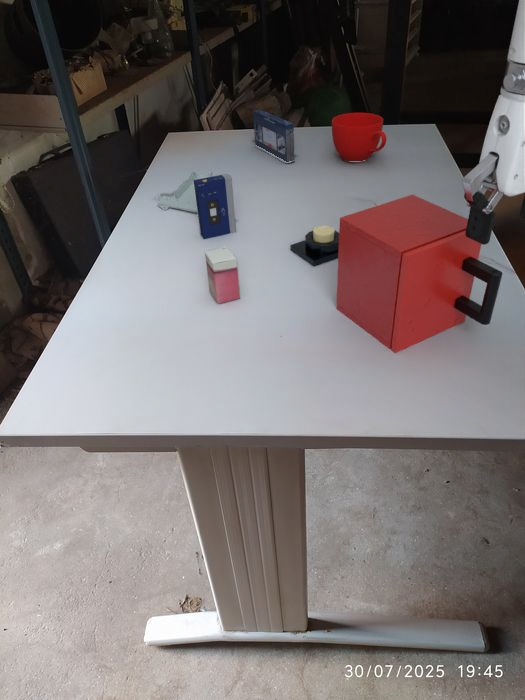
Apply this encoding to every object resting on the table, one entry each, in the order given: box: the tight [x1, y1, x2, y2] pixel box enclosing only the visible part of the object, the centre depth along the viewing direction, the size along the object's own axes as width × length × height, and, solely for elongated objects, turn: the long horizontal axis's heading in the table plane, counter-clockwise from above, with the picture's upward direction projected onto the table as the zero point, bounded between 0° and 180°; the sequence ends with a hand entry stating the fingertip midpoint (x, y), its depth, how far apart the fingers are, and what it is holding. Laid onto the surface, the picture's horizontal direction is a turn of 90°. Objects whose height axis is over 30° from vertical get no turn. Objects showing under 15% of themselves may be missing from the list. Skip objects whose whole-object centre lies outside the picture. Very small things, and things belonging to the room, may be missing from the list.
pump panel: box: [290, 229, 339, 267], centre depth 103 cm, size 10×8×3 cm
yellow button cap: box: [312, 225, 335, 243], centre depth 102 cm, size 4×4×2 cm
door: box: [390, 231, 503, 354], centre depth 74 cm, size 7×14×16 cm, turn 121°
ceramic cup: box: [331, 112, 387, 161], centre depth 139 cm, size 13×17×10 cm
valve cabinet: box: [335, 194, 468, 350], centre depth 81 cm, size 13×14×16 cm
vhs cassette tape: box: [252, 109, 296, 162], centre depth 147 cm, size 18×3×10 cm, turn 27°
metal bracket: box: [157, 170, 214, 218], centre depth 125 cm, size 14×6×15 cm
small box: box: [204, 245, 241, 305], centre depth 91 cm, size 5×4×8 cm
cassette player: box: [194, 173, 237, 240], centre depth 109 cm, size 7×2×12 cm, turn 112°
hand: (504, 229), depth 67 cm, fingers open, 9 cm apart
